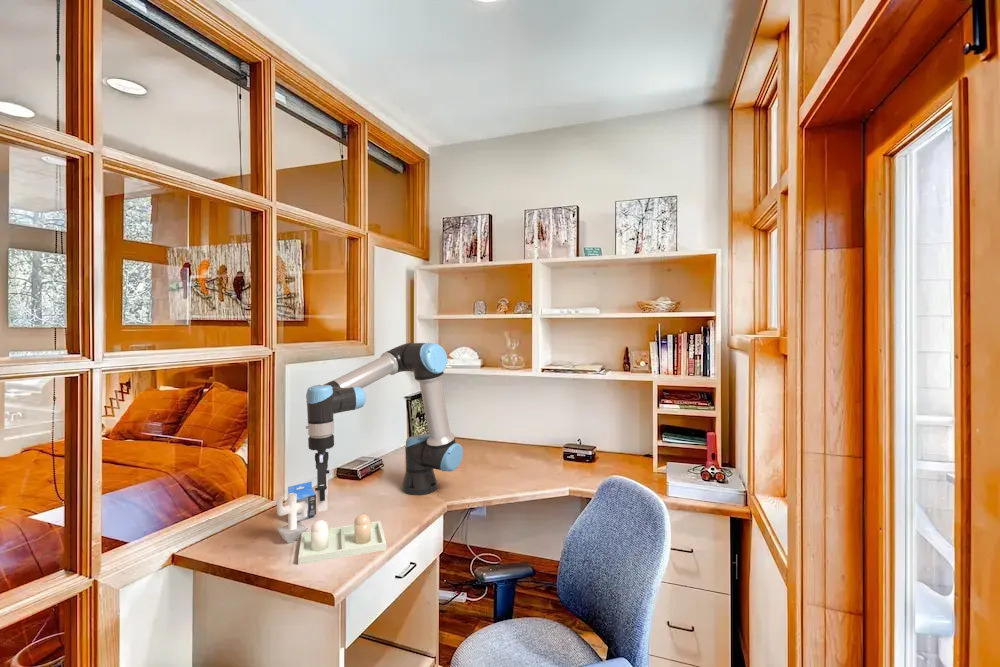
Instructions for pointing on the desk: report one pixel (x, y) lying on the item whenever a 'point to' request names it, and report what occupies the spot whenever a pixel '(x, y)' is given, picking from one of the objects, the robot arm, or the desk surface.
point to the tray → (341, 544)
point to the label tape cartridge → (305, 499)
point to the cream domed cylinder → (319, 536)
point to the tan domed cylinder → (362, 529)
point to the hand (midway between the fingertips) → (323, 502)
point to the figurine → (292, 518)
